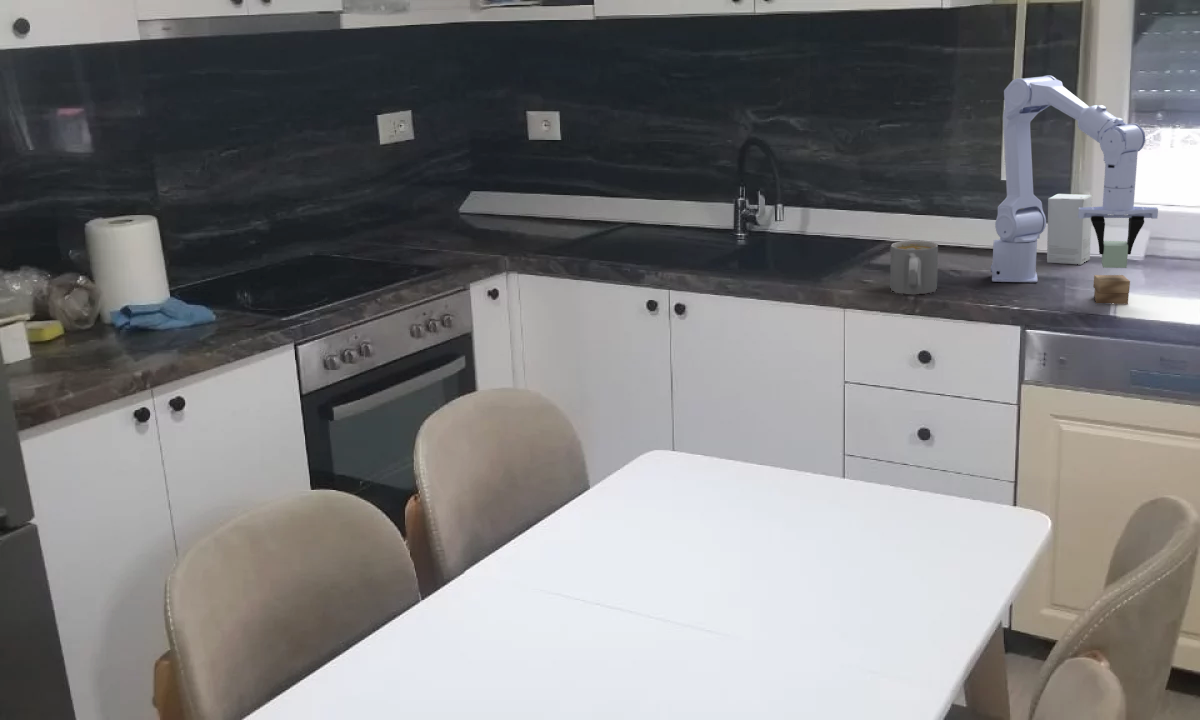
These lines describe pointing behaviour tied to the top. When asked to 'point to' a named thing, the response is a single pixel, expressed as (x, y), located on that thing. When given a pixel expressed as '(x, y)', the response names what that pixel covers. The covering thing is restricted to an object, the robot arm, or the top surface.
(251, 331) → the top surface
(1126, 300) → the tower base
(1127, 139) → the robot arm
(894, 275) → the coffee mug
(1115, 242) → the block
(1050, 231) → the skincare box
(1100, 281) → the tower top
